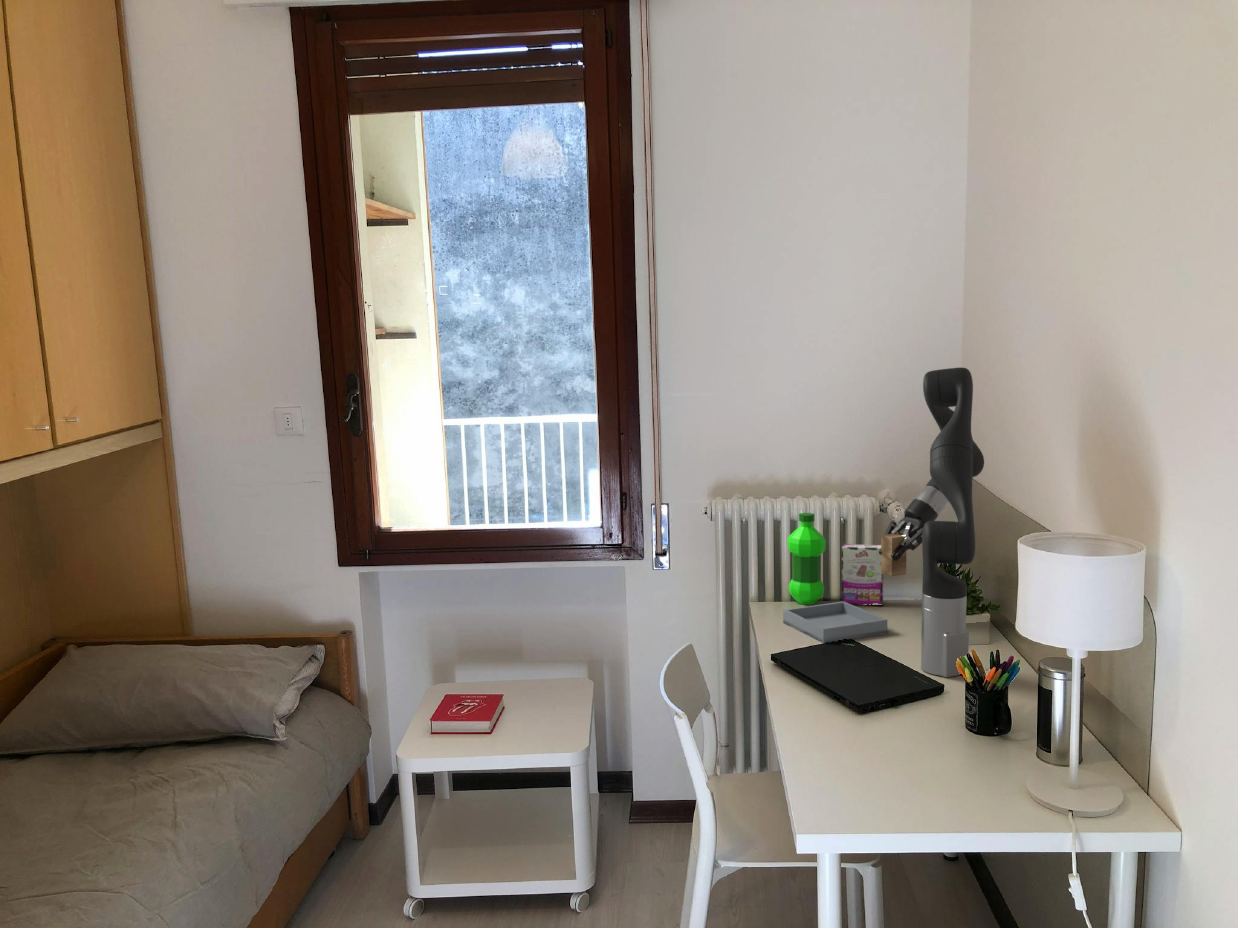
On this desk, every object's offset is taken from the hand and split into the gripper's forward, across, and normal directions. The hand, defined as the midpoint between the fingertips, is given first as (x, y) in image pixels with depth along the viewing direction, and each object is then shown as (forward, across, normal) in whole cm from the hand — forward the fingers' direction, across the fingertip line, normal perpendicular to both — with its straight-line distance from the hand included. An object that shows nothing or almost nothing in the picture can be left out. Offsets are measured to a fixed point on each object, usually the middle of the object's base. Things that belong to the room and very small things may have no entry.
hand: (887, 556), depth 243 cm
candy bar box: (+9, -16, +15) cm, 24 cm away
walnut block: (+2, 0, +5) cm, 5 cm away
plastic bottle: (+18, -24, +6) cm, 31 cm away
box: (+23, 0, +1) cm, 23 cm away
